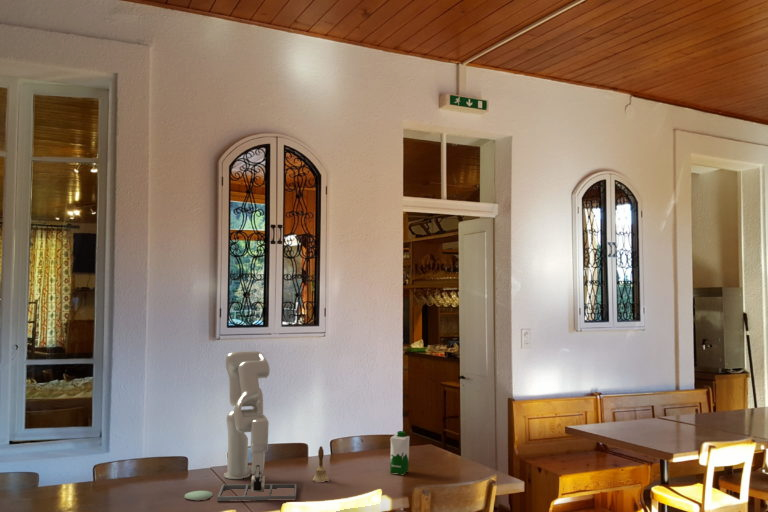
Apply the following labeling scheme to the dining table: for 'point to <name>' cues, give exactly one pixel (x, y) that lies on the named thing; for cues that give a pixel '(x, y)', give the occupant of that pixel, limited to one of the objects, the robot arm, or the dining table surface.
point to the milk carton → (399, 453)
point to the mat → (198, 495)
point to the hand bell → (320, 468)
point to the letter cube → (261, 483)
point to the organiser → (244, 497)
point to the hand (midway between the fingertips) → (257, 487)
